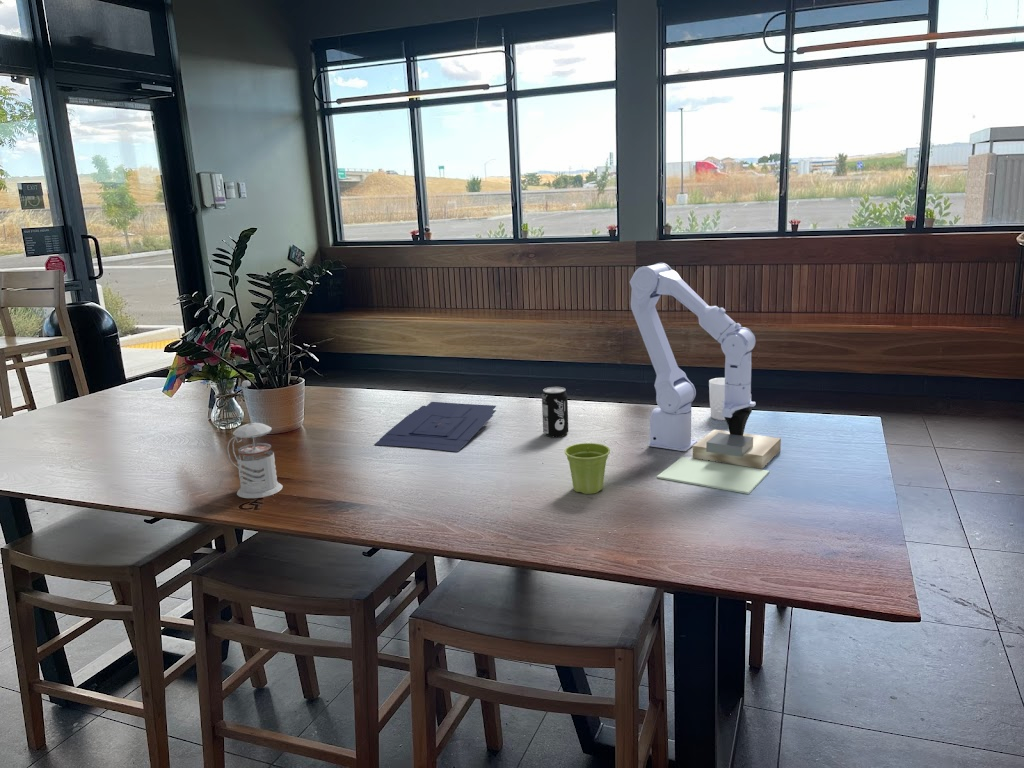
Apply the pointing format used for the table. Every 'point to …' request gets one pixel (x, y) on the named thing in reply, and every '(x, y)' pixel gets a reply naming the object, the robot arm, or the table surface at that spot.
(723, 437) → the tile
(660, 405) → the robot arm
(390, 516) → the table surface
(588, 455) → the plant pot
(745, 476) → the mat
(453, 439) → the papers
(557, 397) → the beverage can
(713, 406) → the white cup
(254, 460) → the french press
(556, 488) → the table surface
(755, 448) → the board
